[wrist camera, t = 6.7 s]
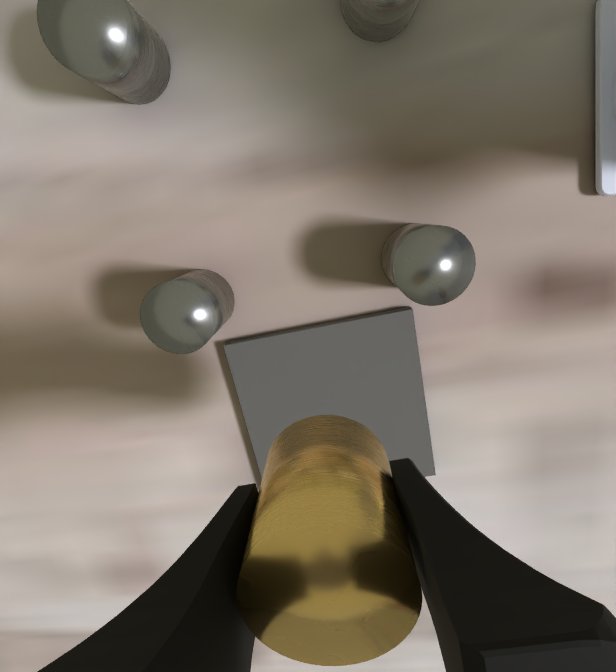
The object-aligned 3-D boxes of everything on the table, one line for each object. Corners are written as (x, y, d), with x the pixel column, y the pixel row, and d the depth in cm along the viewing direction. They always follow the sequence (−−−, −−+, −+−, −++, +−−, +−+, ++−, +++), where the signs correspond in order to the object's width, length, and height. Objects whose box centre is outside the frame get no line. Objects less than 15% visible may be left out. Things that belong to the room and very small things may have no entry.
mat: (410, 306, 20) (412, 309, 20) (432, 468, 23) (435, 475, 22) (226, 342, 21) (223, 345, 21) (269, 493, 24) (267, 499, 24)
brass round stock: (377, 404, 13) (407, 510, 8) (397, 509, 14) (433, 655, 10) (252, 427, 14) (213, 540, 9) (282, 527, 15) (262, 674, 10)
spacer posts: (412, -61, 16) (439, -150, 12) (449, 281, 20) (479, 297, 16) (89, 32, 17) (22, -20, 13) (184, 333, 21) (153, 359, 17)
